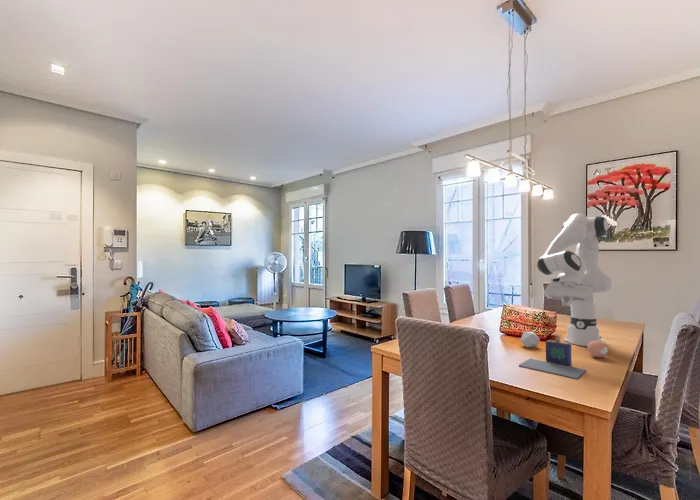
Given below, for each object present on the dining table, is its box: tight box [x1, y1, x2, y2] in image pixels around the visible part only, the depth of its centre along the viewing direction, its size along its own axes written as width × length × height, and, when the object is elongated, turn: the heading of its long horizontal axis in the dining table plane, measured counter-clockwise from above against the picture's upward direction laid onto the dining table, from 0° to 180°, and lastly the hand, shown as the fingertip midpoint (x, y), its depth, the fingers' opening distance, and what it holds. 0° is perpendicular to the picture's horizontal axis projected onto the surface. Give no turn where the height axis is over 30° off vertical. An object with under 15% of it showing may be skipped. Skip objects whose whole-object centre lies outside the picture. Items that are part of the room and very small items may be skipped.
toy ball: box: [587, 340, 608, 359], centre depth 162 cm, size 8×8×8 cm
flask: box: [545, 337, 573, 367], centre depth 153 cm, size 10×3×12 cm, turn 51°
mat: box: [518, 358, 587, 380], centre depth 146 cm, size 14×22×1 cm, turn 43°
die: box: [519, 331, 541, 349], centre depth 181 cm, size 8×9×10 cm
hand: (565, 305), depth 163 cm, fingers closed
